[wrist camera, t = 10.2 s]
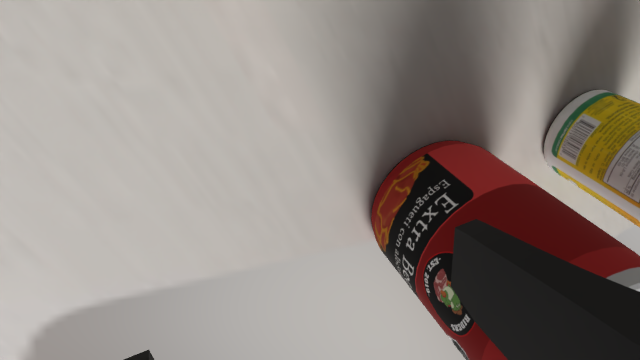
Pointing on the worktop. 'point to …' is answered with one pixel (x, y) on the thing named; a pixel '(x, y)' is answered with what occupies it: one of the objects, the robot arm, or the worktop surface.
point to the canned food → (489, 207)
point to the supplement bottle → (599, 149)
